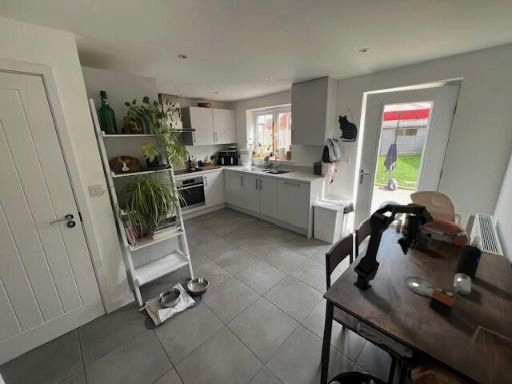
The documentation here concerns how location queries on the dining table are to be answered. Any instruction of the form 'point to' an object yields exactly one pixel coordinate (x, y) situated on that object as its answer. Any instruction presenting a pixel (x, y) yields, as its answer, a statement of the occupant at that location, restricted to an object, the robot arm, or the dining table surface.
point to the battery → (442, 301)
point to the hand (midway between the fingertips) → (408, 252)
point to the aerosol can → (468, 260)
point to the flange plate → (420, 286)
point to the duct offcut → (462, 284)
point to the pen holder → (420, 246)
